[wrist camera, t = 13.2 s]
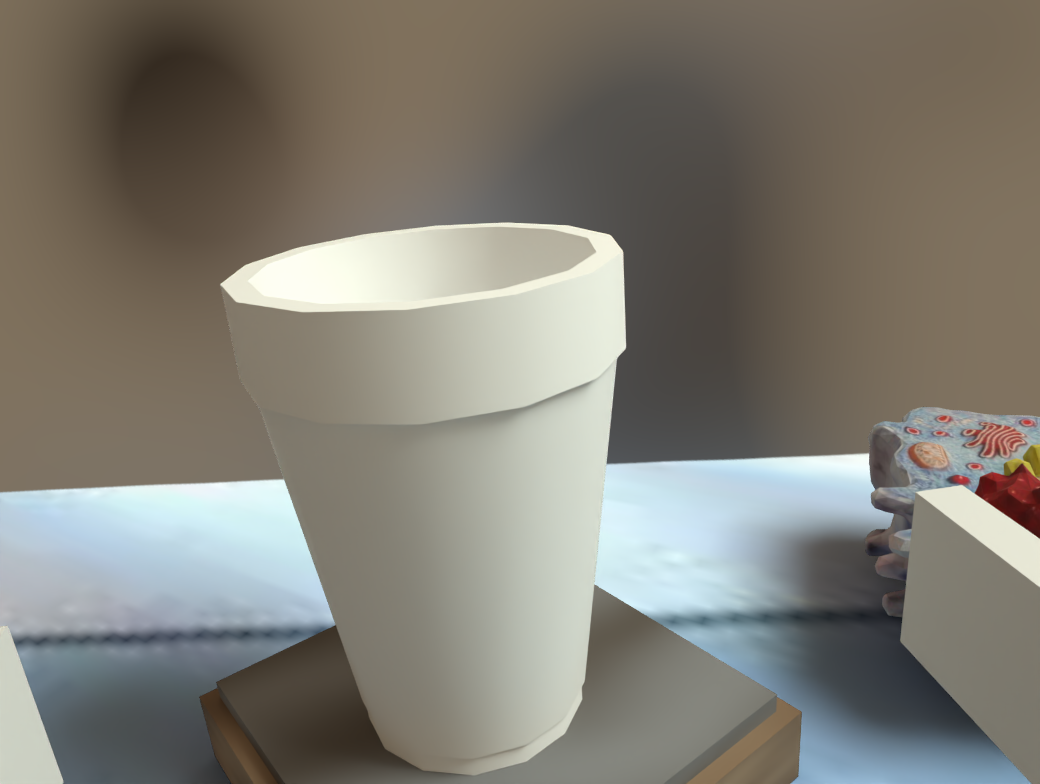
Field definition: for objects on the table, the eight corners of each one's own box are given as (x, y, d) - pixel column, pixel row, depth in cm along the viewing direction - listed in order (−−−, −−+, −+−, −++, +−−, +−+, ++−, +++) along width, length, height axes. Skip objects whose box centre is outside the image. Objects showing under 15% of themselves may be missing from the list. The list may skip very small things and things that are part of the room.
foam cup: (248, 726, 24) (140, 287, 19) (456, 570, 31) (414, 218, 26) (508, 892, 18) (446, 334, 14) (691, 658, 25) (691, 231, 21)
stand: (214, 755, 27) (195, 681, 26) (525, 592, 34) (520, 529, 33) (426, 1109, 17) (408, 1014, 16) (798, 776, 24) (803, 695, 23)
